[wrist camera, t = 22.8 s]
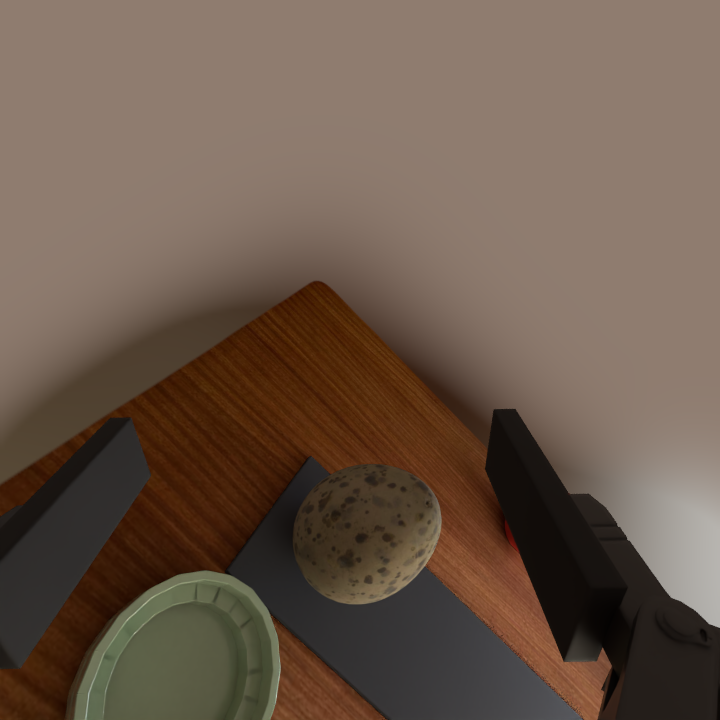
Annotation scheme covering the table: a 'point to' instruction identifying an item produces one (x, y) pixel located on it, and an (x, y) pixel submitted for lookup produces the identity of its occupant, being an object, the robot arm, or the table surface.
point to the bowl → (182, 656)
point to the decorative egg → (365, 532)
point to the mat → (393, 634)
